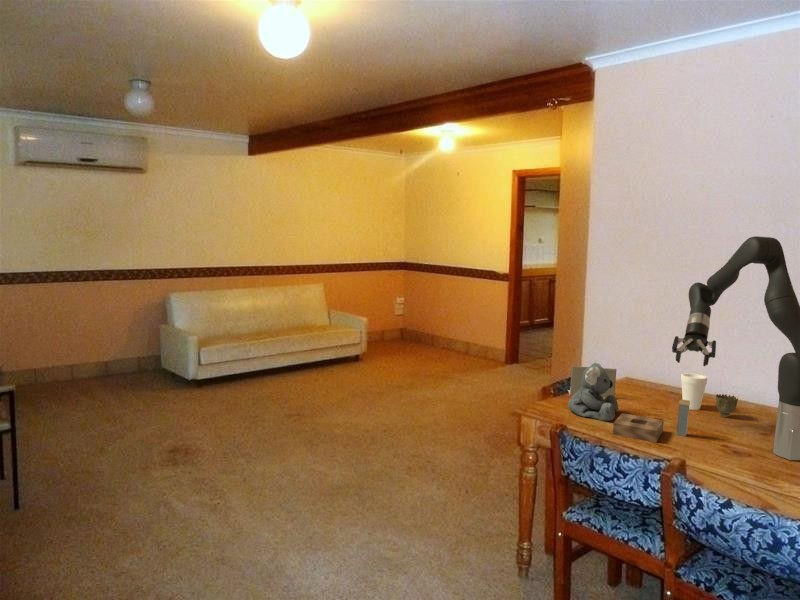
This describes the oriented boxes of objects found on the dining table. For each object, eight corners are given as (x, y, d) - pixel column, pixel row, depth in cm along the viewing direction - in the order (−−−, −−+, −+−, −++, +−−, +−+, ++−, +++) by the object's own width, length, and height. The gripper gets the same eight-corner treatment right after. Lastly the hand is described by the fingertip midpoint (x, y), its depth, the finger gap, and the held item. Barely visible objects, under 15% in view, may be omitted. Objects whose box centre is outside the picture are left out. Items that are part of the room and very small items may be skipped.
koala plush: (613, 423, 223) (618, 371, 221) (563, 416, 231) (566, 364, 228) (618, 411, 239) (622, 362, 237) (571, 404, 246) (574, 356, 244)
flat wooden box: (662, 431, 216) (663, 420, 216) (656, 442, 204) (657, 430, 204) (621, 423, 223) (622, 413, 223) (612, 434, 211) (613, 422, 211)
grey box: (609, 392, 269) (611, 362, 268) (614, 399, 257) (616, 369, 255) (567, 388, 272) (569, 359, 271) (569, 396, 260) (571, 366, 258)
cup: (738, 420, 233) (740, 399, 232) (717, 418, 234) (719, 398, 233) (732, 414, 240) (734, 394, 239) (711, 412, 241) (713, 392, 240)
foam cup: (689, 411, 242) (692, 379, 241) (673, 404, 251) (676, 373, 250) (709, 410, 245) (712, 378, 243) (692, 403, 254) (695, 372, 252)
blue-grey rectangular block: (686, 434, 214) (689, 400, 213) (685, 436, 212) (688, 402, 210) (677, 432, 216) (680, 399, 214) (676, 434, 213) (679, 401, 212)
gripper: (676, 319, 230) (669, 354, 222) (719, 323, 223) (713, 360, 215) (677, 331, 235) (670, 366, 227) (718, 336, 228) (713, 372, 220)
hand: (691, 363), depth 221 cm, fingers open, 8 cm apart
